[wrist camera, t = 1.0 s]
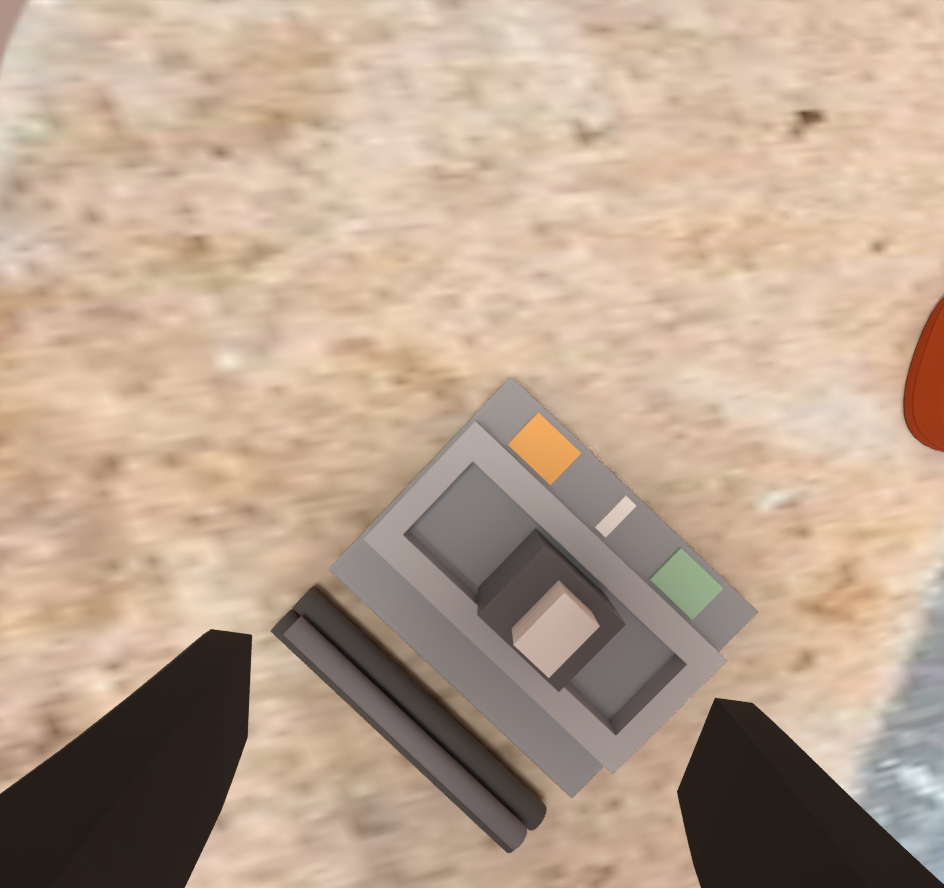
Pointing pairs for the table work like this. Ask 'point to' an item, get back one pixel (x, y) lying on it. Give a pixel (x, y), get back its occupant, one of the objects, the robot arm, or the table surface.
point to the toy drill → (927, 384)
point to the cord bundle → (410, 720)
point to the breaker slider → (547, 610)
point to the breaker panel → (584, 544)
